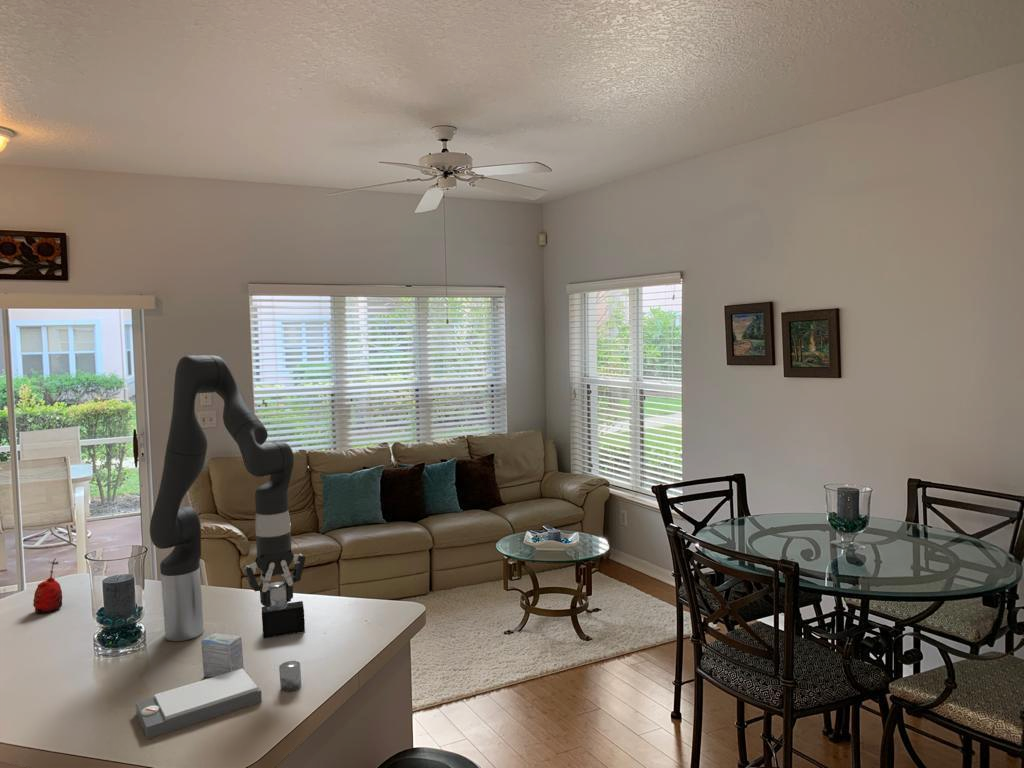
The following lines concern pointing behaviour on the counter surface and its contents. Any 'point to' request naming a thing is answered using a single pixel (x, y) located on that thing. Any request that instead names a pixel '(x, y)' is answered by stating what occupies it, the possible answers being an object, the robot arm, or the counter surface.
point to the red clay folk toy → (48, 595)
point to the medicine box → (221, 654)
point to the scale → (197, 702)
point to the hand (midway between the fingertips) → (277, 603)
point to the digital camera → (283, 620)
